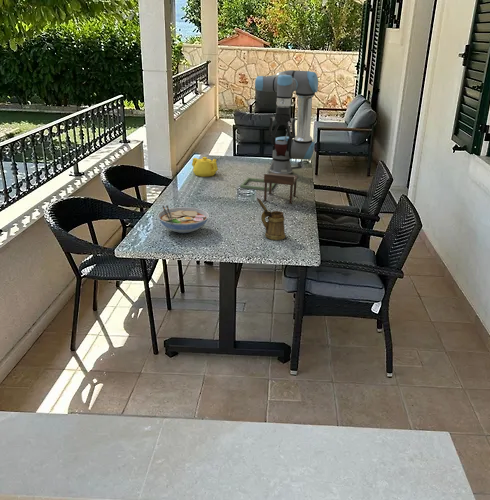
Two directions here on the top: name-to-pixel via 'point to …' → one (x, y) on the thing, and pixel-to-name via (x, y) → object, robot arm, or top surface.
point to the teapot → (204, 167)
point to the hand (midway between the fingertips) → (280, 150)
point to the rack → (280, 179)
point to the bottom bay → (254, 186)
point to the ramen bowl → (183, 219)
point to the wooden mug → (273, 223)
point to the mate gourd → (281, 147)
